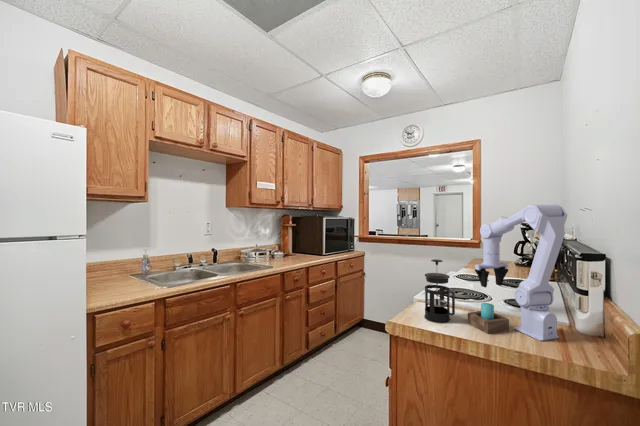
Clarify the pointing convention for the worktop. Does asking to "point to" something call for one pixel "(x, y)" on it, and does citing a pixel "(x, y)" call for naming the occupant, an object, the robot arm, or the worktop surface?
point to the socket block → (488, 323)
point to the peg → (487, 311)
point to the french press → (436, 307)
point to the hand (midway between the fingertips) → (491, 285)
